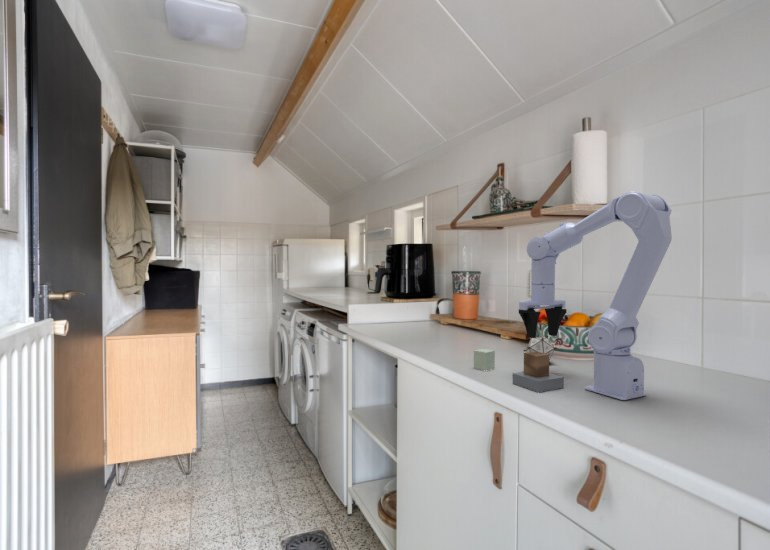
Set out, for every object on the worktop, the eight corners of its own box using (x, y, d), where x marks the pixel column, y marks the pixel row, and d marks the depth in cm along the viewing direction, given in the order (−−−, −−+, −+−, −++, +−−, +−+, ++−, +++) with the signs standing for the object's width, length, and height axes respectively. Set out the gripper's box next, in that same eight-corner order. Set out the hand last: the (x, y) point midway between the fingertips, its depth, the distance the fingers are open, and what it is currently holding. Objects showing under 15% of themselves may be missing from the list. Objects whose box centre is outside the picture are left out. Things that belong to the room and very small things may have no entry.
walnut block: (549, 375, 100) (549, 354, 100) (536, 377, 98) (536, 356, 98) (535, 371, 103) (536, 351, 103) (523, 373, 101) (523, 352, 101)
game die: (542, 374, 126) (558, 346, 128) (550, 370, 118) (566, 340, 120) (514, 357, 128) (530, 330, 130) (520, 353, 120) (537, 323, 122)
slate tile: (563, 387, 99) (563, 377, 98) (538, 392, 95) (538, 381, 95) (536, 379, 106) (537, 369, 106) (512, 383, 102) (512, 373, 102)
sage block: (494, 368, 117) (494, 350, 117) (486, 371, 114) (486, 352, 114) (482, 366, 120) (482, 348, 120) (473, 368, 117) (473, 350, 117)
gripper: (550, 283, 117) (549, 332, 117) (510, 284, 110) (510, 336, 111) (572, 284, 111) (571, 336, 111) (531, 285, 104) (530, 340, 104)
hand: (542, 336), depth 110 cm, fingers open, 7 cm apart
